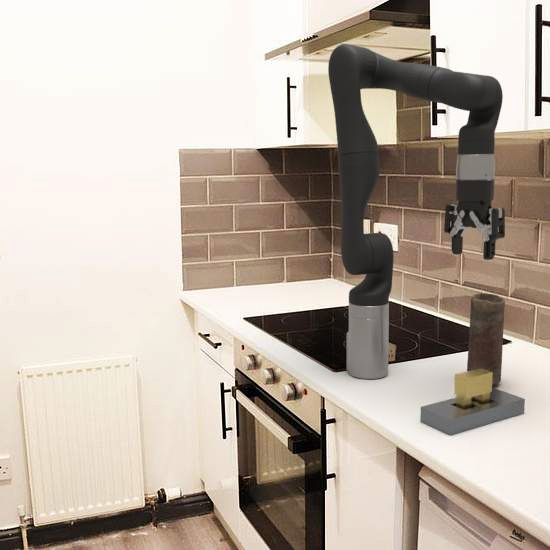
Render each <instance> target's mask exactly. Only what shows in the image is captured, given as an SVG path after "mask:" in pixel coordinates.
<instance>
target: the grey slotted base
mask: <svg viewBox="0 0 550 550" xmlns="http://www.w3.org/2000/svg"><path fill="white" fill-rule="evenodd" d="M525 404H526V401H525V398H523V397H521V396H518V395H515V394H513V393H509V392H507V391H504V390H501V389H498V388H496V387H492V392H490V403H488V404H484V405H482V404H479V403H477V402H475V396H474V397H471V408H470V409H466V410H463V409H460V408H458V407H456V397H453V398H449V399H446V400H445V399H444V400H441V401H438V402H433V403H430V404H426V405H423V406H420V422H421V423H423V424H425V425H428V426H430V427H431V428H432V429H436V430H437V431H440V432H442V433H444V434H447V435H448V436H454V435H456V434H459V433H462V432H463V433H464V432H466V431H469V430H473V429H476V428H479V427H482V426H486V425H490V424H493V423H496V422H499V421H503V420H506V419H510V418H512V417H513V418H514V417H516V416H519V415H523V414H525Z"/></svg>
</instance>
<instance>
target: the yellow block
mask: <svg viewBox="0 0 550 550" xmlns="http://www.w3.org/2000/svg"><path fill="white" fill-rule="evenodd" d="M492 376H493V372H491V371H488V370H485V369H482V368H480V369H476V370H472V371H467V370H466V371H463V372H459V373H456V374H454V395H455V398H456V407H458V408H460V409H463V410H466V409H470V408H471V397H474V396H475V402H477V403H479V404H482V405H484V404H488V403H490V392H492V388H493V386H492Z"/></svg>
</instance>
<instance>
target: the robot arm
mask: <svg viewBox="0 0 550 550" xmlns="http://www.w3.org/2000/svg"><path fill="white" fill-rule="evenodd" d="M327 67H328V71H327V73H328V80H329V81H328V82H329V88H330V94H331V98H332V103H333V110H334V118H335V122H334V123H335V129H336V130H335V131H336V142H337V164H338V176H339V177H338V178H339V186H340V202H341V204H340V206H341V208H340V209H341V225H340V226H341V227H340V228H341V229H340V252H341V253H340V254H341V255H340V256H341V262H342V265H343V267H344V269H345V271H346V272H347V273H348V274H349V275H351V276H361V275H365V277H364V278H363V279H362V281H361V282H359V284H357V285H356V286H354V287H352V288H350V290H349V292H348V331H347V333H346V371H347V372H348V375H350V376H352V377H353V378H358V379H363V380H364V379H365V380H374V379H375V380H376V379H382V378H385V377H387V376H388V375H389V327H390V326H389V325H390V324H389V316H390V313H389V311H390V310H389V309H390V307H389V306H390V305H389V304H390V302H389V301H390V300H389V299H390V295H391V291H392V289H393V274H394V273H393V272H394V258H395V257H394V247H393V243H392V240H391V239H390V237H389V236H388V235H387V234H386V233H383V232H370V233H365V229H364V227H365V224H364V222H365V214H366V213H365V211H366V209H367V205H368V203H369V201H370V199H371V197H372V195H373V193H374V191H375V189H376V187H377V184H378V182H379V179H380V178H379V177H380V174H381V173H380V171H381V170H380V168H381V167H380V155H379V145H378V142H377V138H376V136H375V133H374V131H373V129H372V127H371V125H370V123H369V120H368V119H367V117H366V114H365V112H364V107H363V104H362V103H363V102H362V93H361V90H367V89H368V90H369V89H371V90H373V89H375V90H377V89H380V90H381V89H382V90H390V91H394V92H399V93H402V94H404V95H406V96H410V97H412V98H415V99H419V100H423V101H427V102H432V103H437V104H443V105H446V106H448V107H451V108H453V109H458V110H462V111H467V112H468V113H469V114H468V117H467V122H466V124H465V125H462V126H461V127H460V129H459V131H458V139H457V141H458V142H457V143H458V144H457V159H456V166H455V167H456V168H455V195H454V197H455V201H457V203H451V204H446V205H445V213H444V228H443V231H444V233H446V234H447V233H448V234H449V235H450V237H451V253H452V255H462V254H463V247H464V245H463V244H464V243H463V242H464V236H463V234H464V232H465V231H466V230H467V229H468V228H472V229H477V231H478V232H479V233H481V234H482V235H481V236H483V237H482V238H484V241H483V254H482V255H483V260H485V261H489V260H493V259H494V258H495V255H496V242H497V240H500V239H504V238H505V237H506V214H505V213H506V211H505V208H504V207H495V208H493V207H492V201H493V200H494V198H495V178H496V177H495V176H496V174H495V173H496V163H495V143H496V142H495V140H496V139H495V134H496V133H495V132H496V129H497V125H498V122H499V118H500V114H501V111H502V106H503V97H504V96H503V94H504V93H503V89H502V85H501V83H500V82H499V80H498V79H497V78H496V77H494V76H490V75H487V74H486V75H485V74H477V73H470V72H469V73H468V72H462V71H456V70H455V71H454V70H452V69H449V68H446V67H442V66H441V67H440V66H436V65H433V64H432V65H431V64H426V63H425V64H424V63H416V62H404V61H399V60H394V59H392V58H389V57H386V56H384V55H382V54H380V53H378V52H376V51H373V50H371V49H370V48H366V47H364V46H363V47H362V46H357V45H354V44H347V43H343V44H339V45H338V46H336V47H335V48H334V49H333V51H332V52H331V54H330V56H329V60H328V65H327Z"/></svg>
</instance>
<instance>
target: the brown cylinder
mask: <svg viewBox="0 0 550 550" xmlns="http://www.w3.org/2000/svg"><path fill="white" fill-rule="evenodd" d="M470 298H471V299H470V315H469V333H468V334H469V335H468V347H467V348H468V349H467V350H468V351H467V362H466V363H467V364H466V372H467V371H472V370H476V369H480V368H482V369H485V370H488V371H491V372H493V376H492V387H493V386H496V385H498V384H499V383H500V382H501V380H502V363H503V347H504V346H503V345H504V341H503V340H504V325H505V323H504V322H505V306H506V300H505V299H504V298H503V297H500V296H498V295H496V294H492V293H485V292H484V293H483V292H480V293H475V294H473V295H471V297H470Z"/></svg>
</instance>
